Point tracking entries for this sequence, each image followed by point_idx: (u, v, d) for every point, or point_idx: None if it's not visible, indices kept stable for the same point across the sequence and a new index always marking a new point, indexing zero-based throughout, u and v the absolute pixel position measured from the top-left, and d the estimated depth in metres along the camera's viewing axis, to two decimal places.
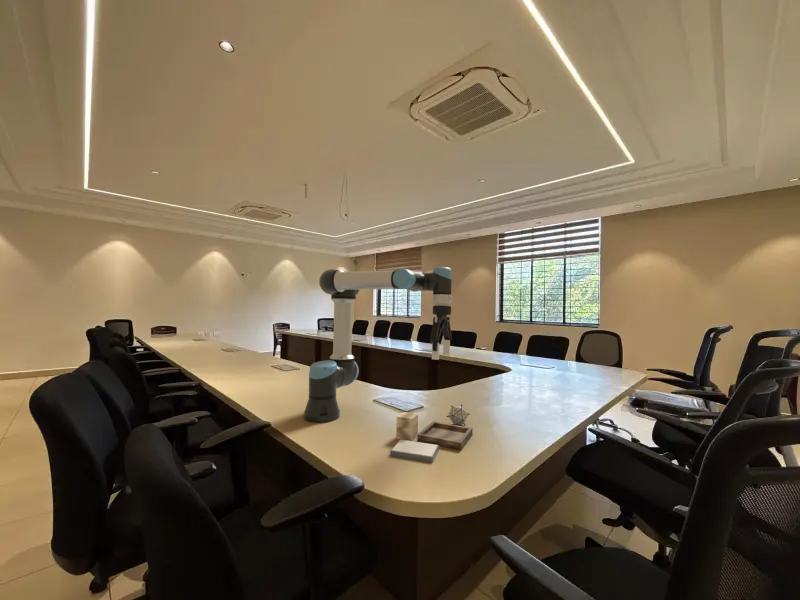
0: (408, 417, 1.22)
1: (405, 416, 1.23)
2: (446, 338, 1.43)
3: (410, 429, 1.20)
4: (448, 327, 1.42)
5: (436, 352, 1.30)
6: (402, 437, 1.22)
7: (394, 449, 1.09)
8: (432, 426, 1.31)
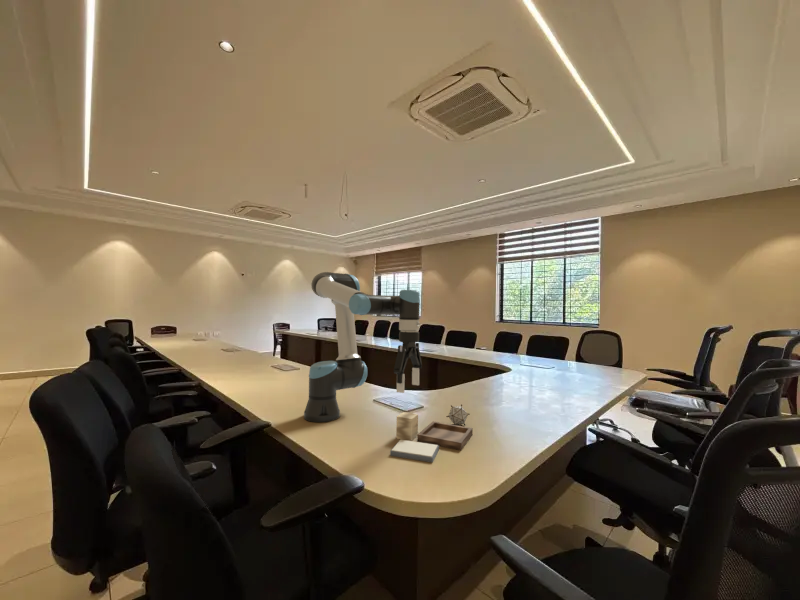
0: (408, 417, 1.22)
1: (405, 416, 1.23)
2: (415, 366, 1.31)
3: (411, 429, 1.20)
4: (417, 354, 1.31)
5: (401, 384, 1.18)
6: (402, 437, 1.22)
7: (394, 449, 1.09)
8: (432, 426, 1.31)
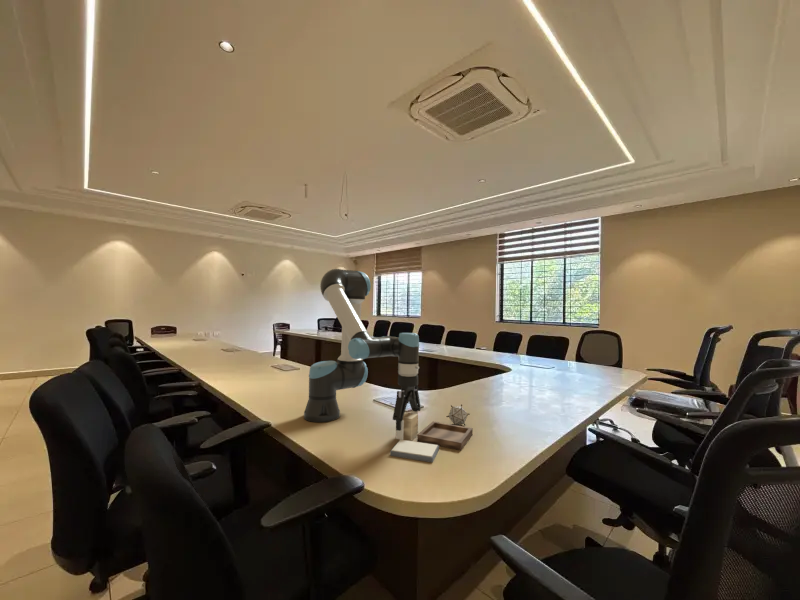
0: (408, 417, 1.22)
1: (405, 416, 1.23)
2: (414, 409, 1.30)
3: (411, 429, 1.20)
4: (416, 396, 1.30)
5: (400, 431, 1.17)
6: None
7: (394, 449, 1.09)
8: (432, 426, 1.31)
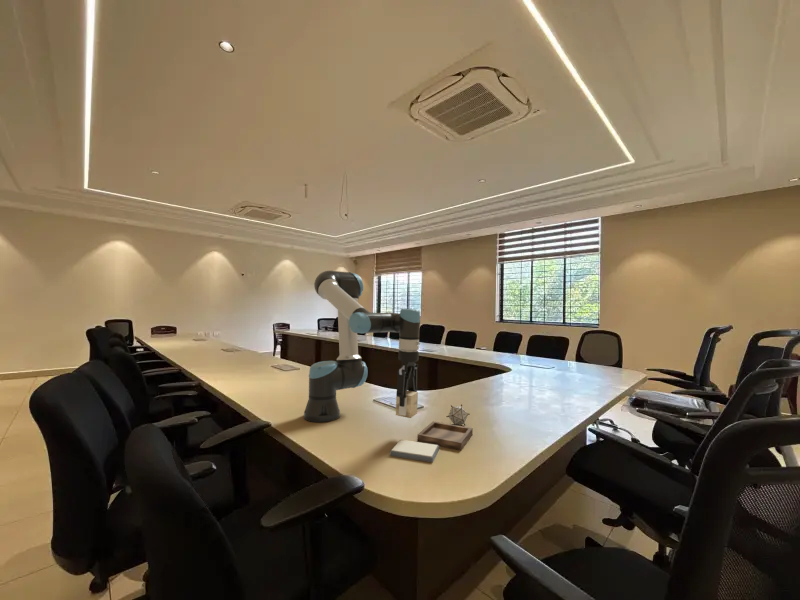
0: (408, 394, 1.22)
1: None
2: (410, 390, 1.28)
3: (410, 406, 1.21)
4: (415, 376, 1.29)
5: (403, 407, 1.21)
6: None
7: (394, 449, 1.09)
8: (432, 426, 1.31)
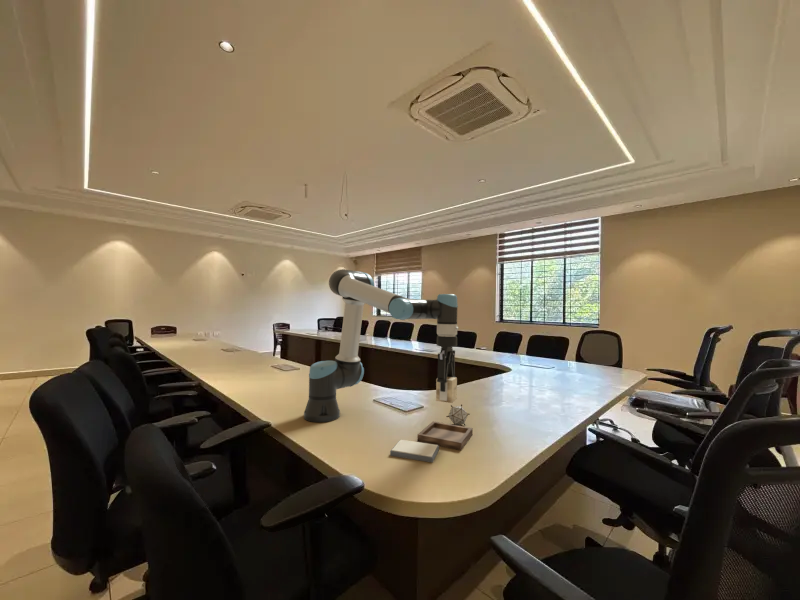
0: (448, 379, 1.22)
1: None
2: (449, 376, 1.28)
3: (451, 390, 1.20)
4: (452, 362, 1.29)
5: (444, 392, 1.20)
6: None
7: (394, 449, 1.09)
8: (432, 426, 1.31)
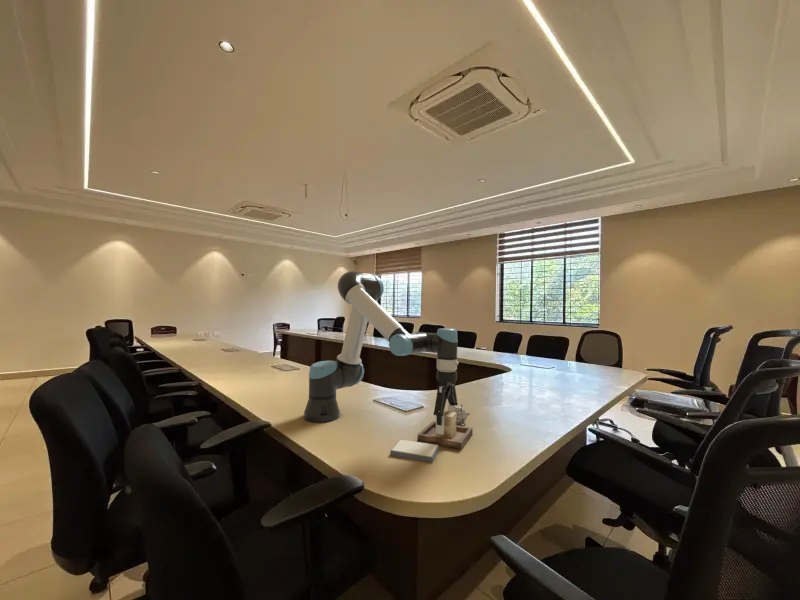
0: (448, 415, 1.22)
1: (444, 414, 1.22)
2: (451, 403, 1.31)
3: (451, 427, 1.20)
4: (453, 391, 1.30)
5: (441, 426, 1.17)
6: (442, 435, 1.21)
7: (394, 449, 1.09)
8: (432, 426, 1.31)
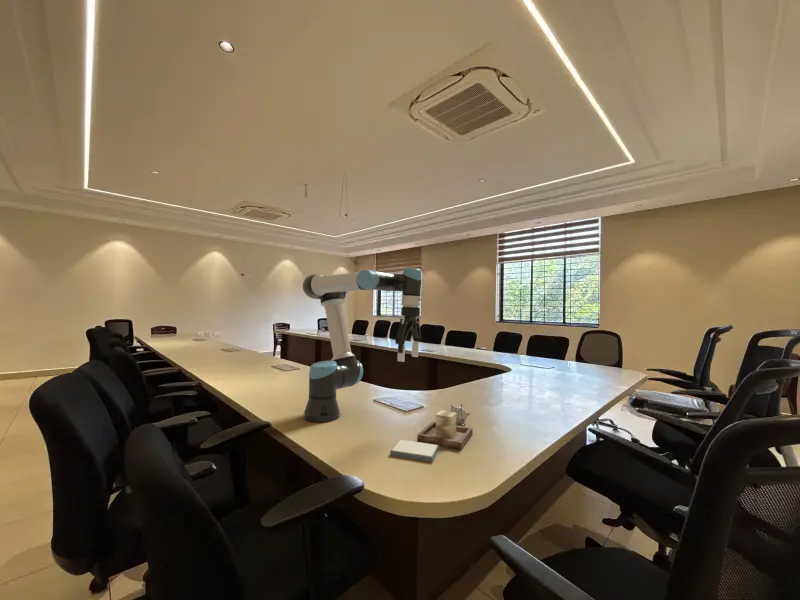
0: (448, 415, 1.22)
1: (444, 414, 1.22)
2: (415, 339, 1.42)
3: (451, 427, 1.20)
4: (417, 328, 1.41)
5: (402, 354, 1.28)
6: (442, 435, 1.21)
7: (394, 449, 1.09)
8: (432, 426, 1.31)
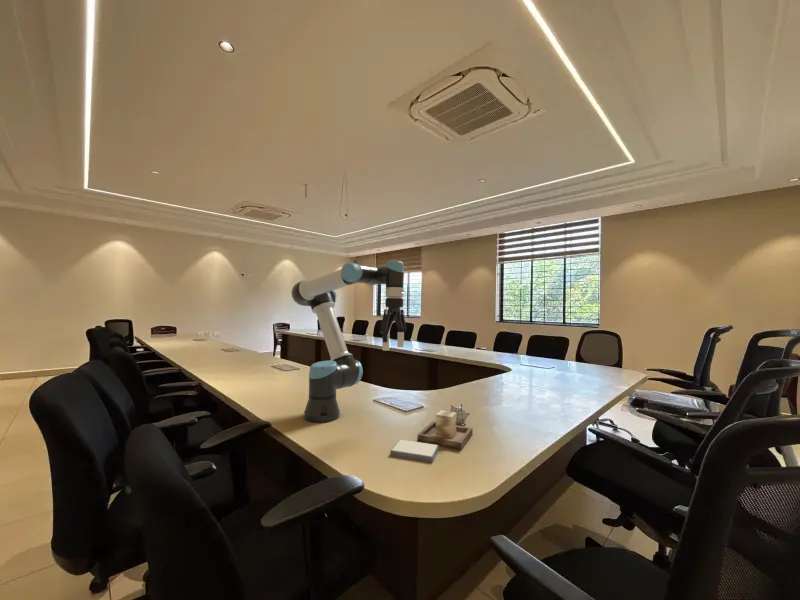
0: (448, 415, 1.22)
1: (444, 414, 1.22)
2: (400, 330, 1.47)
3: (451, 427, 1.20)
4: (402, 319, 1.46)
5: (386, 343, 1.33)
6: (442, 435, 1.21)
7: (394, 449, 1.09)
8: (432, 426, 1.31)
